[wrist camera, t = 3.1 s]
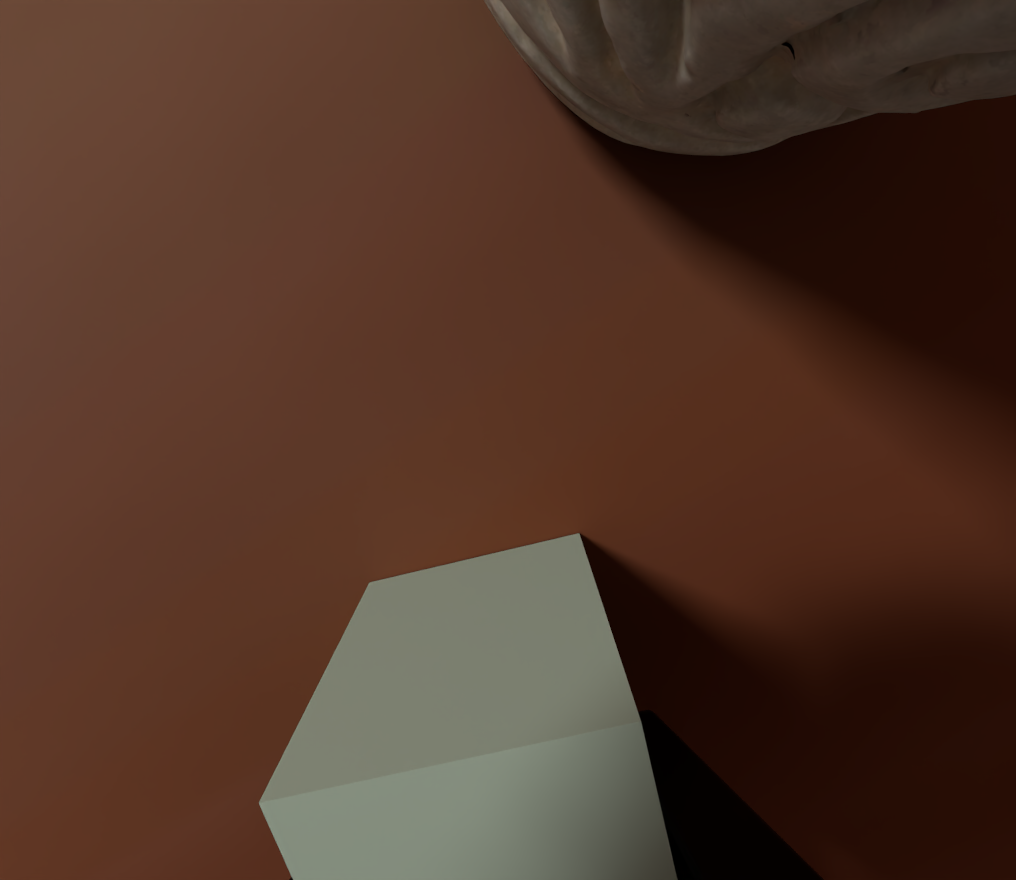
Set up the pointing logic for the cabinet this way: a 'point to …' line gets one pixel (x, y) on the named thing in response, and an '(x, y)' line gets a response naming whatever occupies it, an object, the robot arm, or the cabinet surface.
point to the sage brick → (473, 735)
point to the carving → (758, 63)
